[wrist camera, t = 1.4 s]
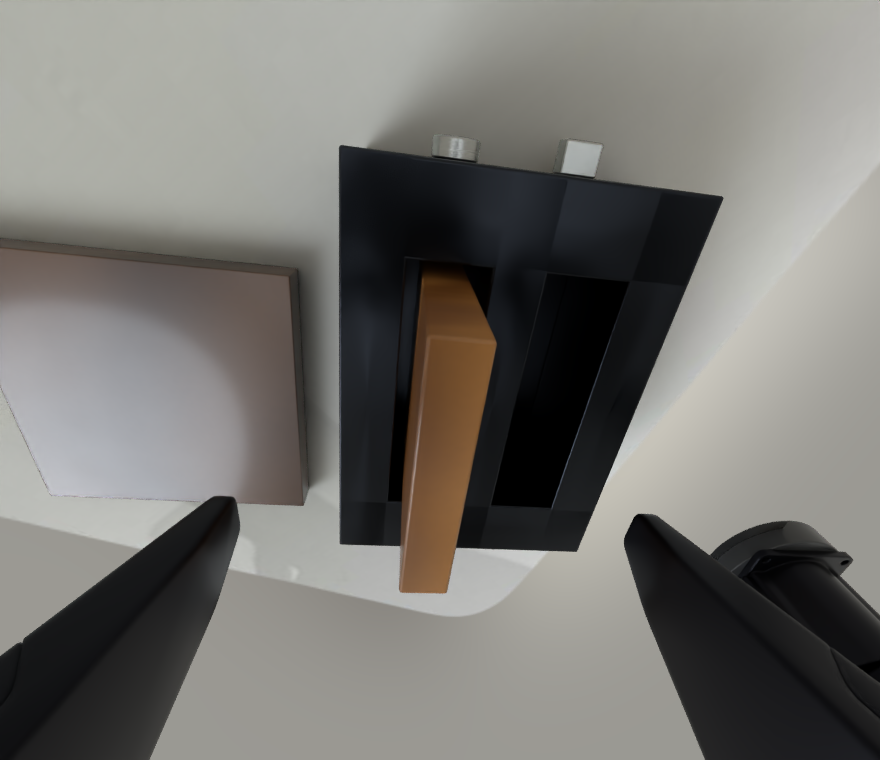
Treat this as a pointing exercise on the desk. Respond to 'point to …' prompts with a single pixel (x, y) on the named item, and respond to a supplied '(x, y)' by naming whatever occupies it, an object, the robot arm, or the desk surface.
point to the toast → (441, 421)
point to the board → (154, 373)
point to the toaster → (506, 326)
